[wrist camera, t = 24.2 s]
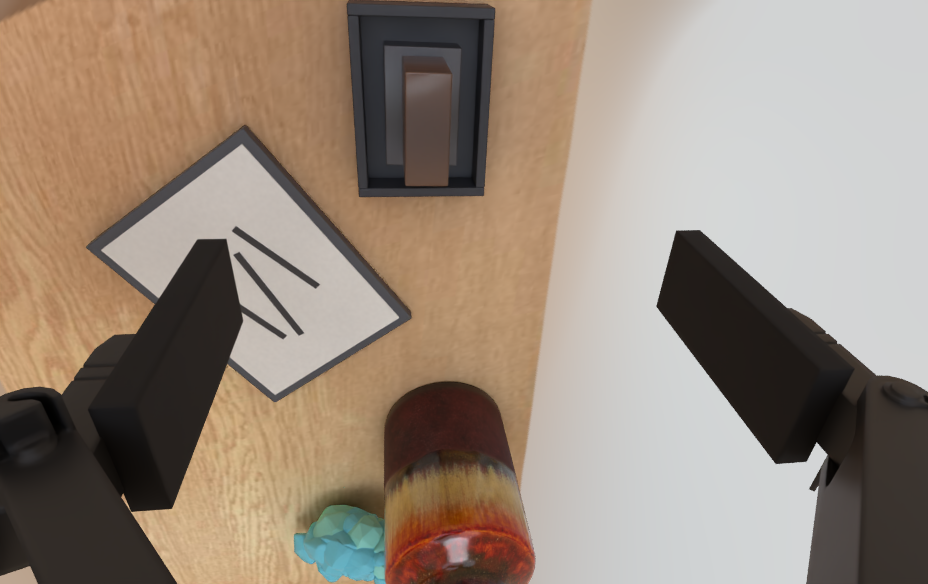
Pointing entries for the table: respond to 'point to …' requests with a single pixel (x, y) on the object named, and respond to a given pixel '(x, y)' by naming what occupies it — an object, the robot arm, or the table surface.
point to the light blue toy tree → (345, 544)
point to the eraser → (422, 109)
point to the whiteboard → (260, 263)
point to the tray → (366, 42)
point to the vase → (452, 492)
